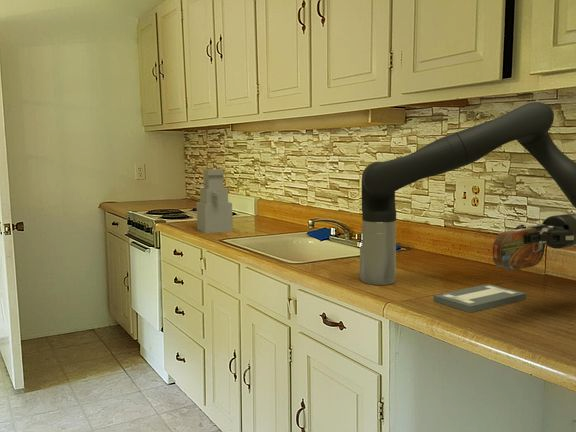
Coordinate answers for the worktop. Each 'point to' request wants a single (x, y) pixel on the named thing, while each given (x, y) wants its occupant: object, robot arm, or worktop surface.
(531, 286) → the worktop surface
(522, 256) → the tin
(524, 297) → the letter board
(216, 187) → the stacked tiered boxes
